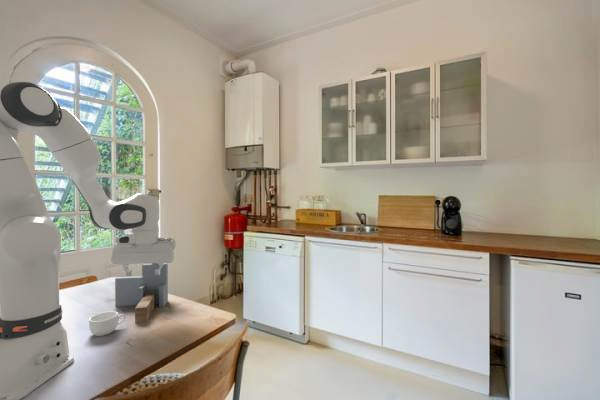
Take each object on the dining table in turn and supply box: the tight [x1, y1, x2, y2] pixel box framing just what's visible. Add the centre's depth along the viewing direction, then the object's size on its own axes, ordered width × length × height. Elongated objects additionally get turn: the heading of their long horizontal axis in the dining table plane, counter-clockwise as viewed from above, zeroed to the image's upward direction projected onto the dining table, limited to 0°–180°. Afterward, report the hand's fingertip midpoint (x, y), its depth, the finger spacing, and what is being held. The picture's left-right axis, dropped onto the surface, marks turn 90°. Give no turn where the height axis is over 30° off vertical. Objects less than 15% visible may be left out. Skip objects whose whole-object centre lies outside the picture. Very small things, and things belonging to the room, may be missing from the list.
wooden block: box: [134, 290, 157, 324], centre depth 106 cm, size 16×4×6 cm, turn 16°
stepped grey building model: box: [114, 263, 169, 308], centre depth 113 cm, size 6×19×18 cm, turn 99°
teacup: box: [88, 310, 126, 337], centre depth 92 cm, size 10×8×5 cm
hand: (143, 275), depth 104 cm, fingers open, 8 cm apart
